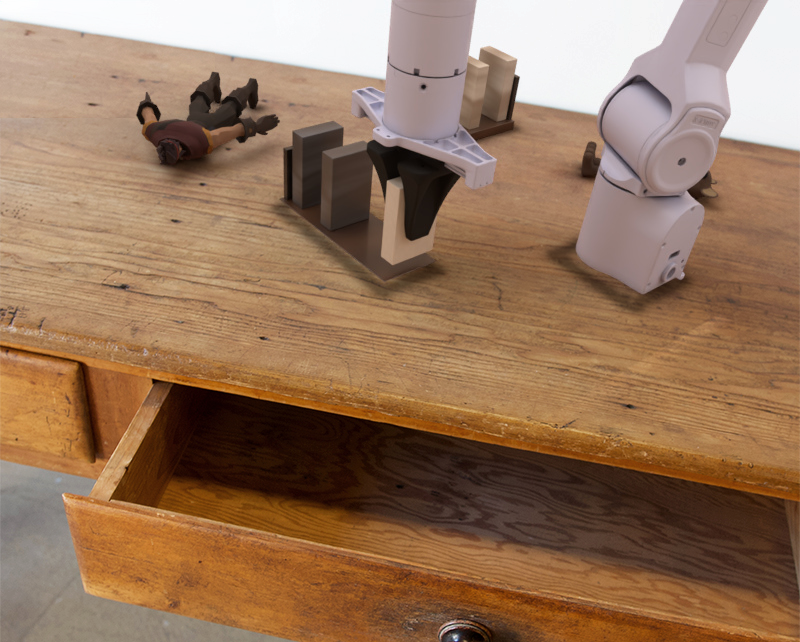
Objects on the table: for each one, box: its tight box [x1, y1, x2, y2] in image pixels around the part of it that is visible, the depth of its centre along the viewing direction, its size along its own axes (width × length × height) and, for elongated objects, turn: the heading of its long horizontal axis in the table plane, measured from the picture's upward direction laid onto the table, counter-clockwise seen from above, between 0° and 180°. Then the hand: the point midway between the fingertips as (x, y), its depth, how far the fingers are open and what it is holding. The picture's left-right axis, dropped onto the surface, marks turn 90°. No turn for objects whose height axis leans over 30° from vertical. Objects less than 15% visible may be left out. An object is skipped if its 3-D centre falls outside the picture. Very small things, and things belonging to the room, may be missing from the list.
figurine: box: [135, 71, 281, 166], centre depth 80 cm, size 15×4×20 cm
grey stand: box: [278, 120, 437, 283], centre depth 68 cm, size 16×6×8 cm, turn 40°
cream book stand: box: [459, 45, 521, 141], centre depth 86 cm, size 6×14×8 cm, turn 130°
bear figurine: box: [580, 140, 719, 199], centre depth 82 cm, size 18×4×14 cm
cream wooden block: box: [381, 176, 438, 265], centre depth 63 cm, size 2×4×7 cm, turn 130°
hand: (408, 230), depth 64 cm, fingers closed on cream wooden block, 2 cm apart
